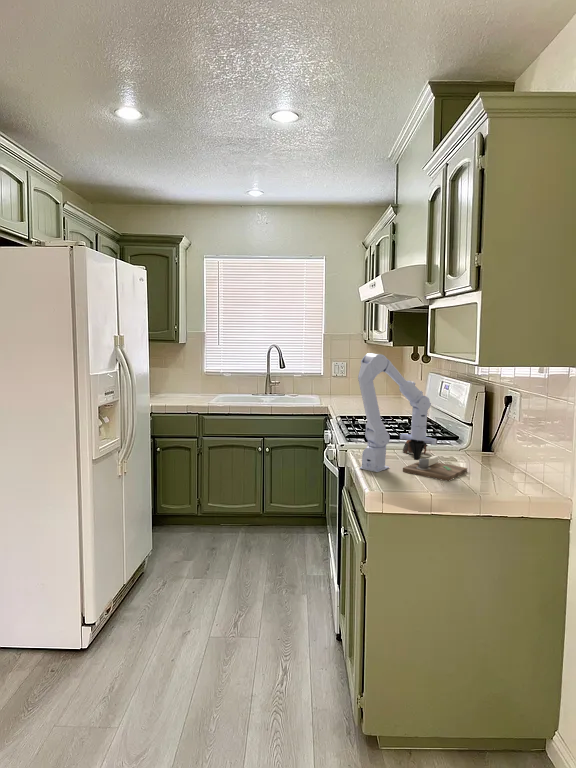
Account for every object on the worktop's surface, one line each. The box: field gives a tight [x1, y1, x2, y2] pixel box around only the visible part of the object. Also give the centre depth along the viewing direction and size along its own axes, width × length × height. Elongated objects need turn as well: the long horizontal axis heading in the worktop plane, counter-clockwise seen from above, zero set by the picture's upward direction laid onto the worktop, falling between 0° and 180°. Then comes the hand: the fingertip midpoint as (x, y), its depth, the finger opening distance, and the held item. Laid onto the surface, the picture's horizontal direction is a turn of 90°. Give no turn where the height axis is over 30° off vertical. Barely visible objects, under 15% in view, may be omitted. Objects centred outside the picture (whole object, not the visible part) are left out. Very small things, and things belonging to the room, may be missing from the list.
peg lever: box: [418, 455, 439, 468], centre depth 218 cm, size 13×4×3 cm, turn 142°
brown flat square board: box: [402, 461, 468, 482], centre depth 216 cm, size 18×18×2 cm
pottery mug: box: [402, 440, 428, 455], centre depth 246 cm, size 12×10×8 cm
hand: (416, 459), depth 223 cm, fingers closed
